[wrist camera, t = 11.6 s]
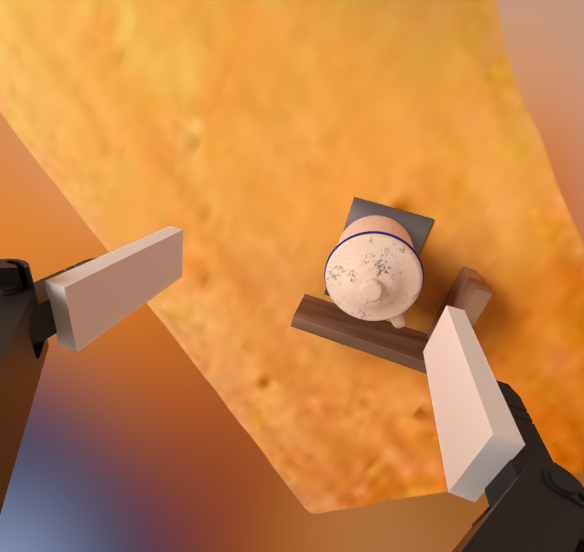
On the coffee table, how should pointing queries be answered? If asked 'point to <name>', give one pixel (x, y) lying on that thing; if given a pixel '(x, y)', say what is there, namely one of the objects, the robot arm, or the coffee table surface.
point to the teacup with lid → (374, 271)
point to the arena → (382, 334)
